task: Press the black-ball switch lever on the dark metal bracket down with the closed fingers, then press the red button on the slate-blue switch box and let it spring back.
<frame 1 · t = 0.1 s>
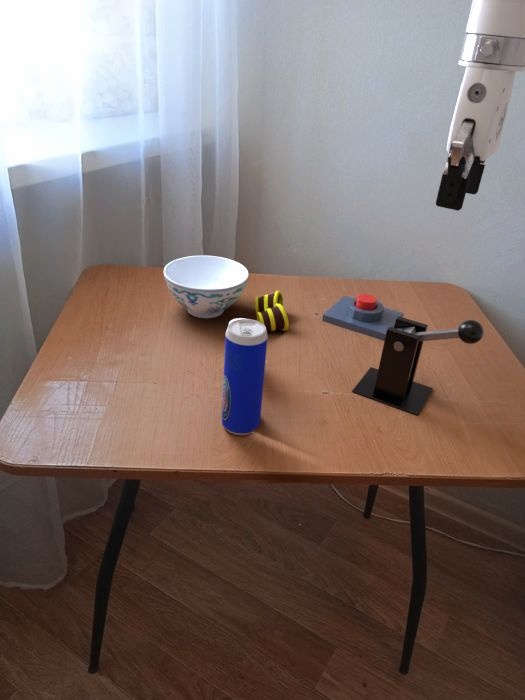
hand: (457, 199, 74), 29 cm above the table, tool pointing down, fingers open, 9 cm apart
switch box: (362, 324, 103), on the table
switch bracket: (391, 395, 84), on the table
switch lever: (437, 335, 77), point 12 cm above the table, hinge at 25.0°
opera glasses: (269, 323, 101), on the table
start button: (366, 302, 101), point 4 cm above the table, slide at 0.1 cm
chinaware: (205, 310, 104), on the table
beverage can: (240, 426, 76), on the table
supplement bottle: (239, 372, 87), on the table
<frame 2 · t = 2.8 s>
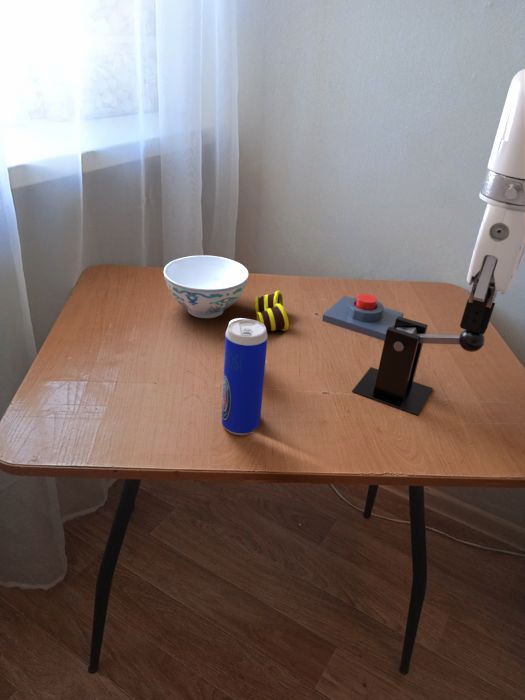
hand: (472, 328, 74), 14 cm above the table, tool pointing down, fingers closed
switch lever: (438, 338, 77), point 11 cm above the table, hinge at 17.6°, touching gripper
everything else where it was.
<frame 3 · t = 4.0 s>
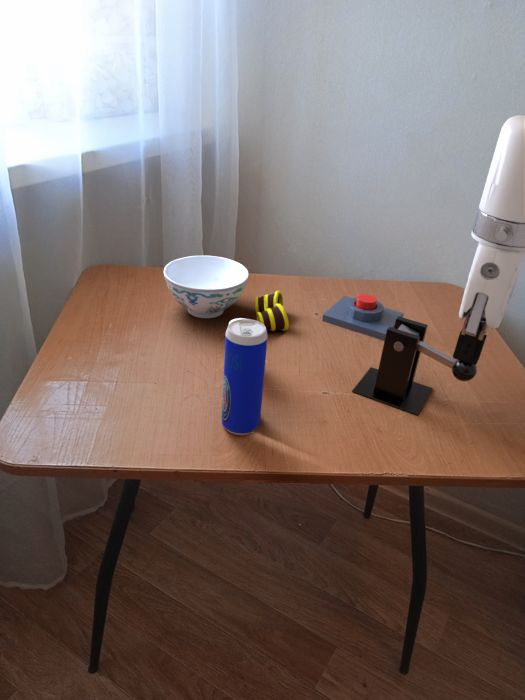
hand: (465, 359, 76), 10 cm above the table, tool pointing down, fingers closed
switch lever: (434, 353, 78), point 9 cm above the table, hinge at -12.3°, touching gripper
everything else where it was.
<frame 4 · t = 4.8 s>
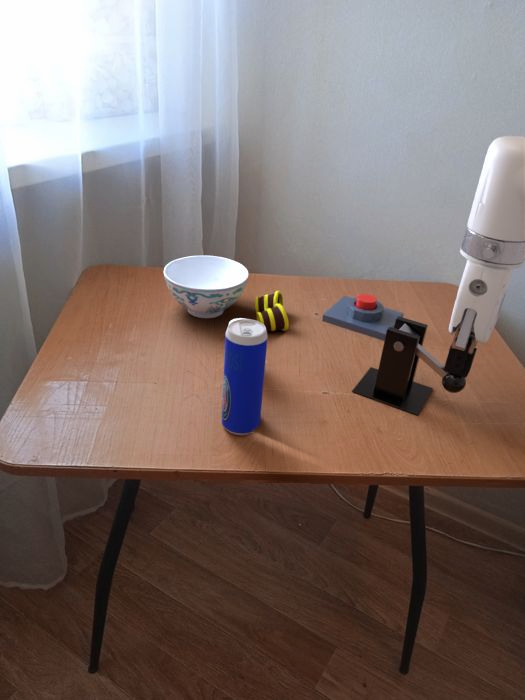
hand: (456, 371, 77), 7 cm above the table, tool pointing down, fingers closed
switch lever: (429, 360, 79), point 8 cm above the table, hinge at -28.0°, touching gripper
everything else where it was.
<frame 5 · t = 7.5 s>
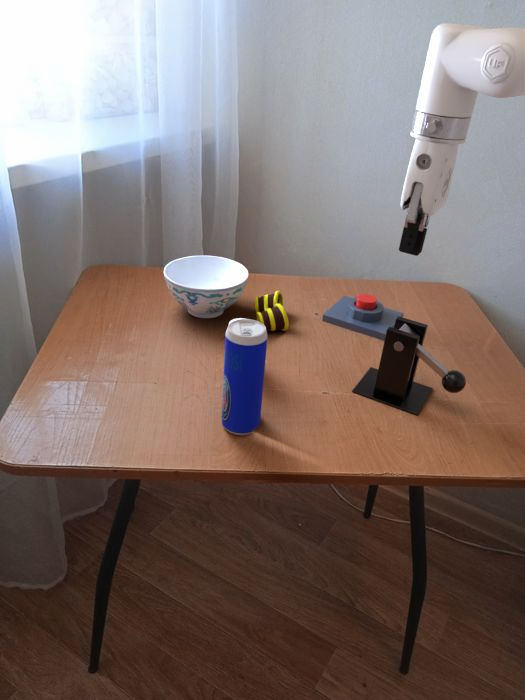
hand: (409, 251, 87), 18 cm above the table, tool pointing down, fingers closed
switch lever: (429, 360, 79), point 8 cm above the table, hinge at -28.2°
everything else where it was.
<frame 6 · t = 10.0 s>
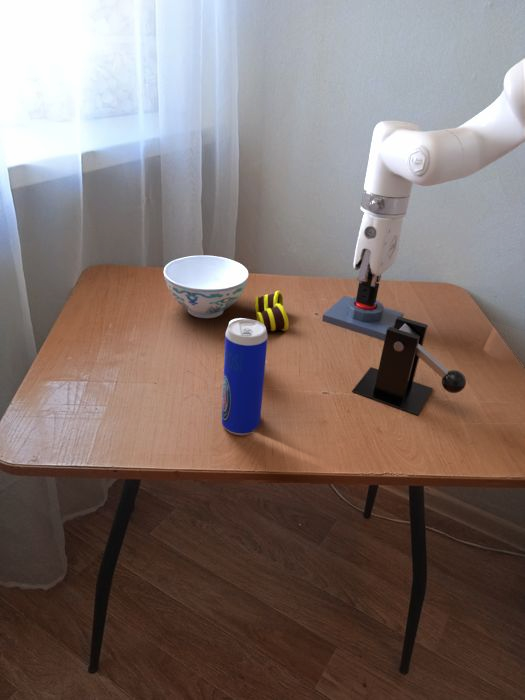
hand: (365, 302, 101), 4 cm above the table, tool pointing down, fingers closed
start button: (365, 307, 102), point 3 cm above the table, slide at -0.9 cm, touching gripper
everything else where it was.
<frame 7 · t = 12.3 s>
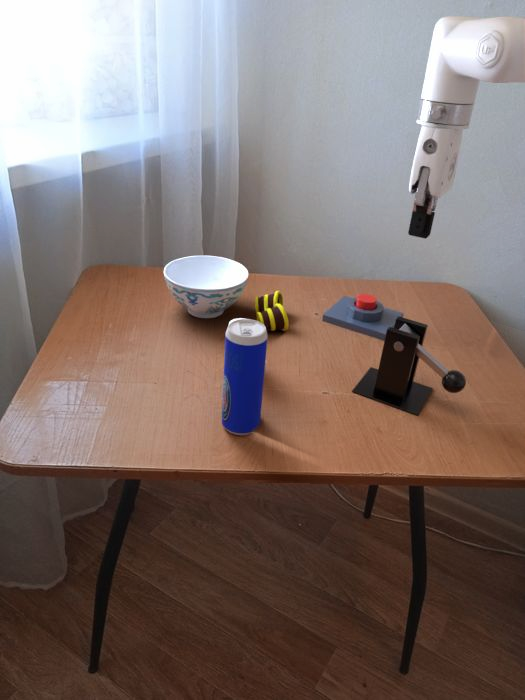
hand: (418, 235, 91), 19 cm above the table, tool pointing down, fingers closed
start button: (366, 302, 101), point 4 cm above the table, slide at 0.1 cm
everything else where it was.
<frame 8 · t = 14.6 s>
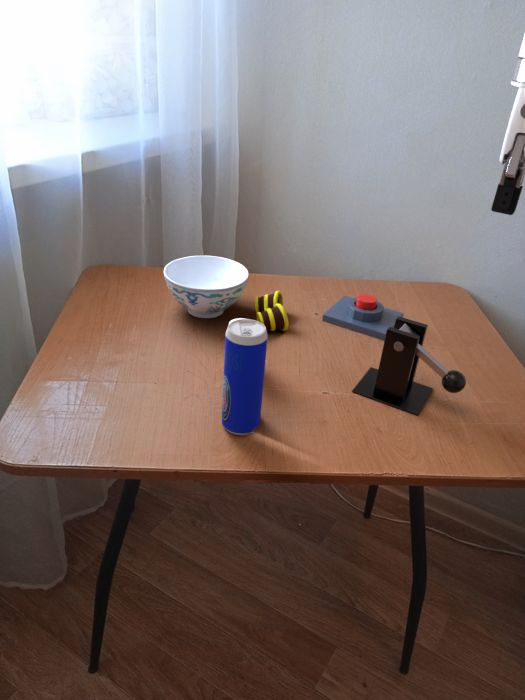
hand: (502, 211, 84), 25 cm above the table, tool pointing down, fingers closed
nothing on the table moved.
at the end: switch lever at -28° (first picture: +25°); start button pushed in 1.1 cm at the most during the clip, back to where it started at the end; start button slide at 0.1 cm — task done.
